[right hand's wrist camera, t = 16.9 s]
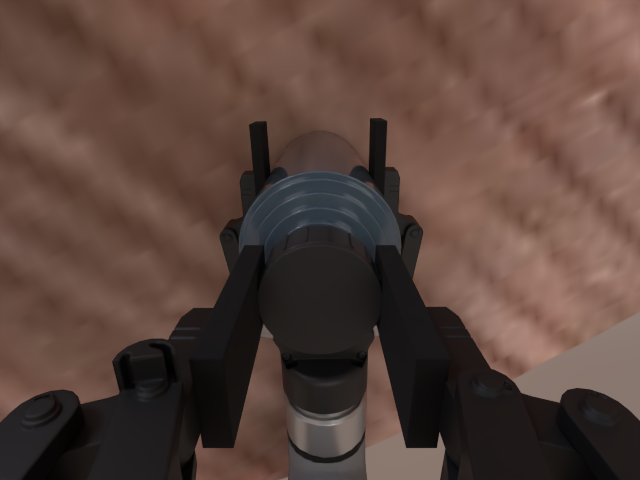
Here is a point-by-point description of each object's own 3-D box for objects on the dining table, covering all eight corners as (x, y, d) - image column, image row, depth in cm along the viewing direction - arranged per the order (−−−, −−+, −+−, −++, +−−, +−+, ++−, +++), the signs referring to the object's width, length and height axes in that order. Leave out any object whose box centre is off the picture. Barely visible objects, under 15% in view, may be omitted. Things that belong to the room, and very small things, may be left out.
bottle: (324, 230, 35) (329, 409, 15) (260, 178, 33) (174, 306, 13) (379, 170, 33) (468, 287, 13) (315, 111, 31) (307, 147, 11)
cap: (325, 343, 16) (325, 375, 14) (240, 283, 15) (229, 309, 13) (400, 272, 15) (410, 298, 13) (313, 200, 13) (312, 217, 12)
